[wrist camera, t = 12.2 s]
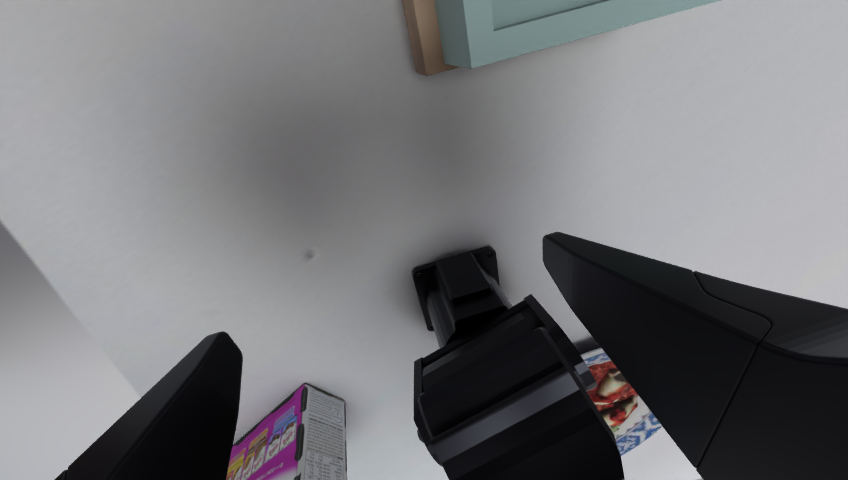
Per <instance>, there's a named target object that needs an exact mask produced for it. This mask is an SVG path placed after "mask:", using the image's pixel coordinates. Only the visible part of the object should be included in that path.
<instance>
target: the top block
mask: <svg viewBox="0 0 848 480" xmlns="http://www.w3.org/2000/svg"><path fill="white" fill-rule="evenodd" d="M716 1H720V0H434V2H435V8H436V14H437V20H438V26H439V32H440V38H441V44H442V50H443V56H444V62H445V64H449V65H454V66H460V67H466V68H471V69H472V68H476V67H479V66H483V65H487V64H490V63H494V62H498V61H501V60H505V59H509V58H512V57H516V56H519V55H523V54H527V53H530V52H534V51H538V50H541V49H545V48H549V47H552V46H556V45H560V44H563V43H567V42H571V41H574V40H578V39H582V38H585V37H589V36H592V35H596V34H600V33H603V32H607V31H611V30H614V29H618V28H622V27H625V26H629V25H633V24H636V23H640V22H644V21H647V20H651V19H654V18H658V17H662V16H665V15H669V14H673V13H676V12H680V11H684V10H687V9H691V8H695V7H698V6H702V5H706V4H709V3H713V2H716Z"/></svg>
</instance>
